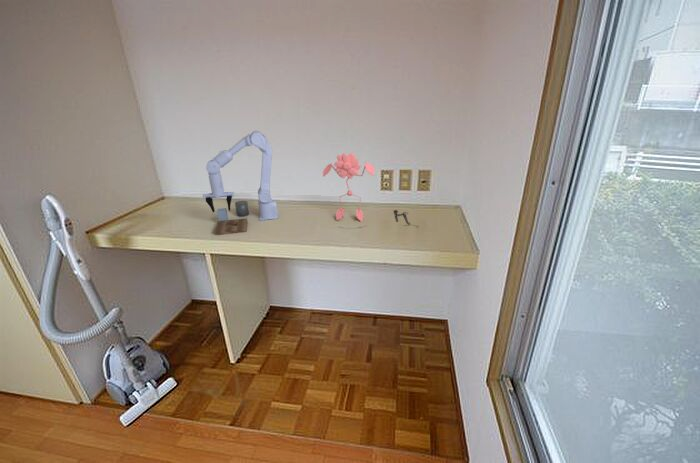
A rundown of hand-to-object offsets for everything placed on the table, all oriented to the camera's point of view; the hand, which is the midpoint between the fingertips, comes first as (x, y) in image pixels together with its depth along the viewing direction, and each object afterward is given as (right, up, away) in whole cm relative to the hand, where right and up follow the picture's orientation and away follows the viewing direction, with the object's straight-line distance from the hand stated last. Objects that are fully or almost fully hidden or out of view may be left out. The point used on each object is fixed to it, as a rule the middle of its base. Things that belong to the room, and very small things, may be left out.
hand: (221, 210), depth 164 cm
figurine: (+65, -6, -1) cm, 65 cm away
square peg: (0, -6, +3) cm, 6 cm away
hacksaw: (+94, -5, +1) cm, 94 cm away
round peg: (+7, -1, +12) cm, 14 cm away
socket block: (+7, -9, -5) cm, 13 cm away
